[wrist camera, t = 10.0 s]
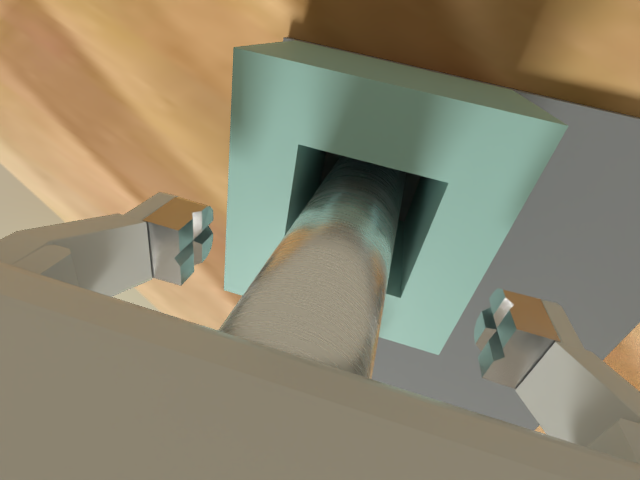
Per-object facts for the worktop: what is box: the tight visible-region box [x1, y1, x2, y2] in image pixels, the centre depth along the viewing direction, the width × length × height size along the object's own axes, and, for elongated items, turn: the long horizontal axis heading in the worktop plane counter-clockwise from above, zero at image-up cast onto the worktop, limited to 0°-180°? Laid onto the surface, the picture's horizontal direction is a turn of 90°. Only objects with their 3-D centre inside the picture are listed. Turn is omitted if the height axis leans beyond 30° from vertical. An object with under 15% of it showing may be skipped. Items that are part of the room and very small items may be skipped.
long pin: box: [218, 155, 406, 379], centre depth 11 cm, size 3×3×14 cm
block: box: [224, 40, 568, 355], centre depth 14 cm, size 9×9×6 cm
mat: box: [283, 37, 640, 430], centre depth 20 cm, size 21×20×1 cm
